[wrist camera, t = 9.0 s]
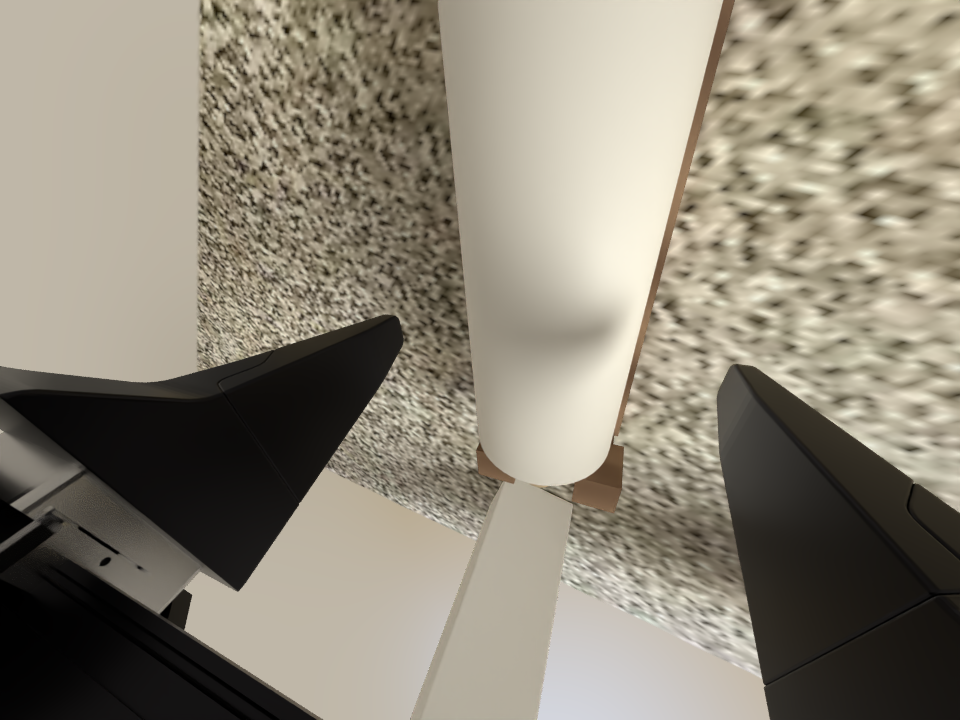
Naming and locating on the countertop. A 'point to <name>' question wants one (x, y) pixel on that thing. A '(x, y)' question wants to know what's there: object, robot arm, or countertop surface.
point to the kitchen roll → (564, 205)
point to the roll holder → (607, 478)
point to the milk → (501, 613)
